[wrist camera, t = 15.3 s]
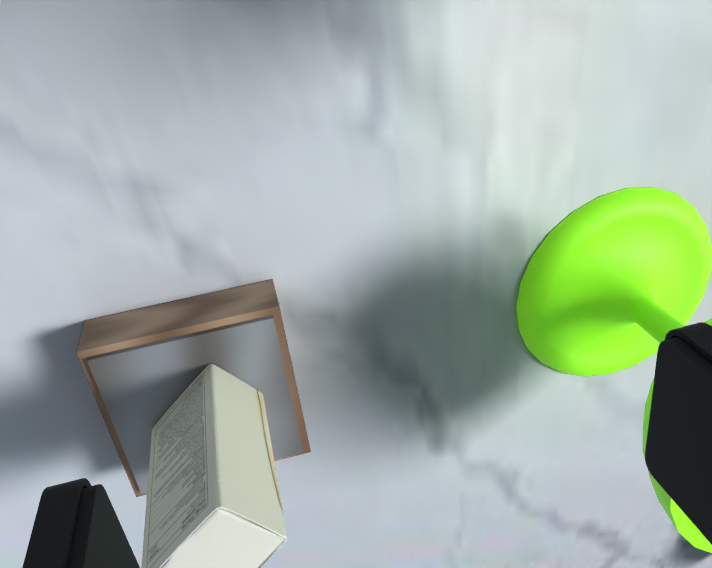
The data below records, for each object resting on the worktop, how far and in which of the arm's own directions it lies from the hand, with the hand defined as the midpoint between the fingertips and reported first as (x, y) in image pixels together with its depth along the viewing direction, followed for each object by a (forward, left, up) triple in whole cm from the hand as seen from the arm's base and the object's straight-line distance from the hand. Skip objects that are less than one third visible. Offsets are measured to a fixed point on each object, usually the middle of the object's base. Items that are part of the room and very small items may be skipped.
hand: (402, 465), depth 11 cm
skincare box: (+7, +18, -26) cm, 33 cm away
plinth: (+7, +18, -30) cm, 36 cm away
